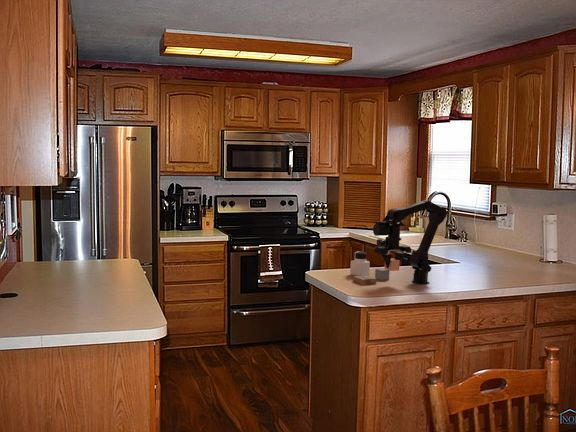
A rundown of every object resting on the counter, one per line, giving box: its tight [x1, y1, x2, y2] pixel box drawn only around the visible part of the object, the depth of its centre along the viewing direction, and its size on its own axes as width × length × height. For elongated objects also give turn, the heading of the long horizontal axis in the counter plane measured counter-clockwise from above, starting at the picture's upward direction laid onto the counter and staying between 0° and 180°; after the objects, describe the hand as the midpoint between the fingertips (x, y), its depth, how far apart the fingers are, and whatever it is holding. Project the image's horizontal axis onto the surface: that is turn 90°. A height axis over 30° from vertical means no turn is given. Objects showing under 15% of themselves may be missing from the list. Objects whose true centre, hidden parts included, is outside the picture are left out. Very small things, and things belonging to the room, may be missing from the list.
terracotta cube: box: [383, 257, 401, 272], centre depth 293 cm, size 5×5×5 cm
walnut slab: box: [352, 275, 377, 286], centre depth 296 cm, size 8×8×3 cm
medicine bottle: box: [349, 251, 371, 276], centre depth 314 cm, size 7×7×12 cm
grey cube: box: [374, 267, 390, 281], centre depth 306 cm, size 5×5×5 cm
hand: (391, 267), depth 293 cm, fingers closed on terracotta cube, 5 cm apart
